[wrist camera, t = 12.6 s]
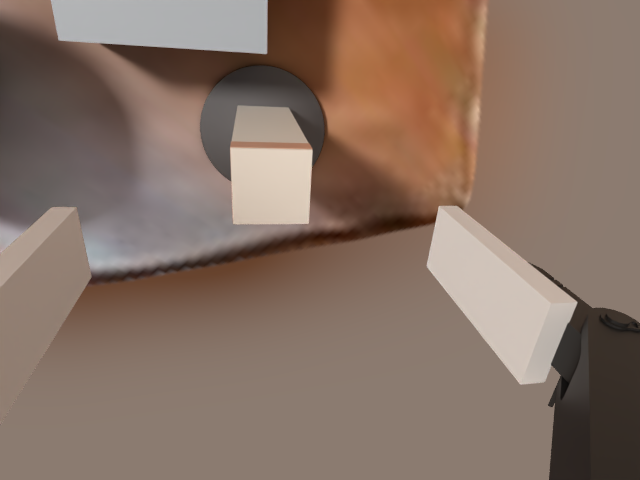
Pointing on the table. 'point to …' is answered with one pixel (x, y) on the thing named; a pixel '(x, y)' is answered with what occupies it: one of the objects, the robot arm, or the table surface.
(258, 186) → the plug
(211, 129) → the coaster
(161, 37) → the socket block
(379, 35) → the table surface
